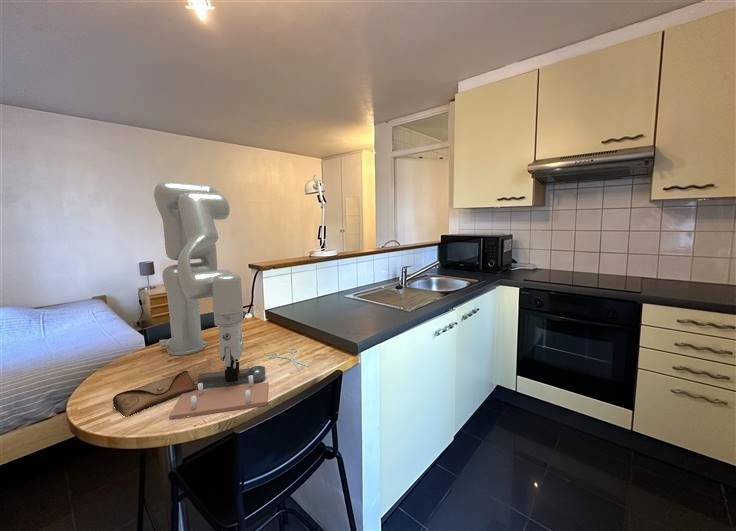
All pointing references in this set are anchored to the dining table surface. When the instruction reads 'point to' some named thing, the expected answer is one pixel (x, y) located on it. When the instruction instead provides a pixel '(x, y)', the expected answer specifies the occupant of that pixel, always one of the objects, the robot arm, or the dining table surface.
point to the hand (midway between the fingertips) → (232, 377)
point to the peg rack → (221, 399)
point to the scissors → (289, 358)
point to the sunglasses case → (153, 393)
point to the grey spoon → (219, 380)
